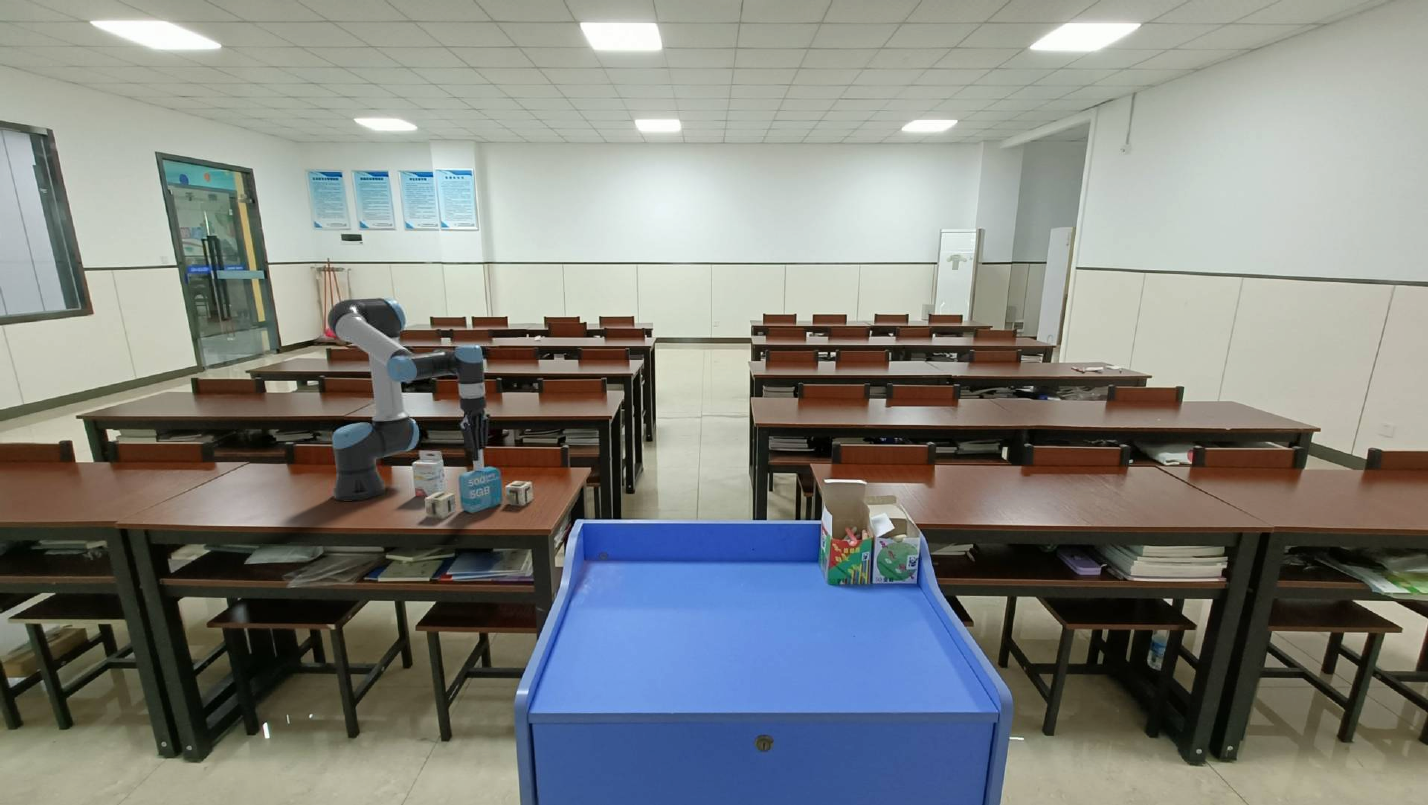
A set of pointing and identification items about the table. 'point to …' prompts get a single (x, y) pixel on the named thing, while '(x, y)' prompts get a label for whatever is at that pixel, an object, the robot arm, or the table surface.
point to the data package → (480, 489)
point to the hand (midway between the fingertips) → (479, 469)
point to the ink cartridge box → (428, 474)
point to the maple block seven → (519, 493)
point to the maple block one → (440, 505)
